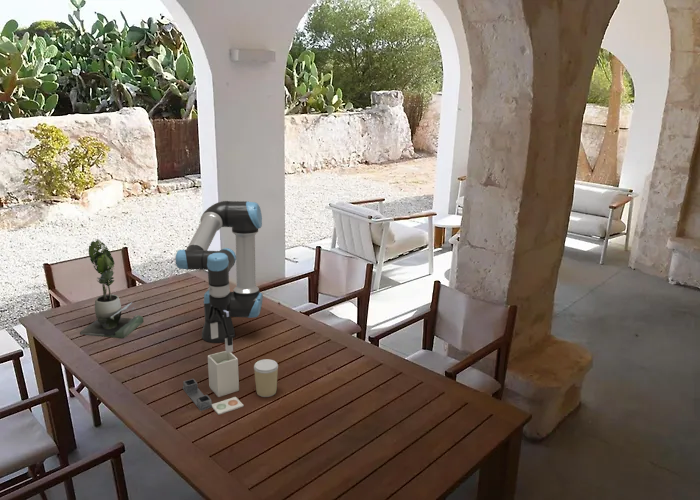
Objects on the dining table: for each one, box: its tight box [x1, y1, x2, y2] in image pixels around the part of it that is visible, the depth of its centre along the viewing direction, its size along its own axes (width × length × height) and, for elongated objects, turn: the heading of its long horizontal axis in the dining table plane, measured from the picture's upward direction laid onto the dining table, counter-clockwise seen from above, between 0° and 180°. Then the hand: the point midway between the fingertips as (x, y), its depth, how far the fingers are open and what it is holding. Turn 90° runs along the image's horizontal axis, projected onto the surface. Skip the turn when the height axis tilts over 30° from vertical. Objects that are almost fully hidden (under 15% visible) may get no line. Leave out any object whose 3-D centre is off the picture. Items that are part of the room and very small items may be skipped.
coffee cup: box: [253, 358, 279, 398], centre depth 223 cm, size 9×9×12 cm
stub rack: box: [182, 378, 213, 412], centre depth 220 cm, size 5×19×3 cm, turn 36°
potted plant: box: [79, 238, 144, 339], centre depth 269 cm, size 22×19×45 cm
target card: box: [211, 396, 245, 415], centre depth 215 cm, size 10×7×1 cm
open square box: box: [207, 350, 240, 398], centre depth 224 cm, size 9×9×14 cm
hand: (221, 344), depth 221 cm, fingers open, 13 cm apart
